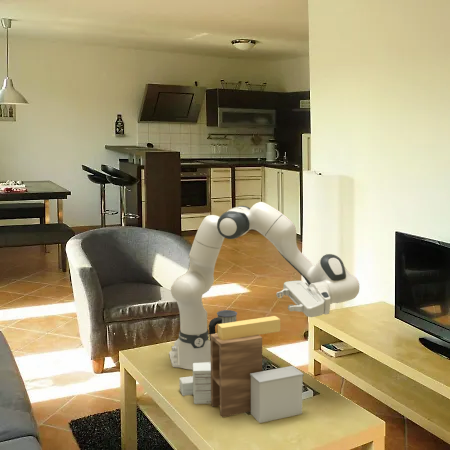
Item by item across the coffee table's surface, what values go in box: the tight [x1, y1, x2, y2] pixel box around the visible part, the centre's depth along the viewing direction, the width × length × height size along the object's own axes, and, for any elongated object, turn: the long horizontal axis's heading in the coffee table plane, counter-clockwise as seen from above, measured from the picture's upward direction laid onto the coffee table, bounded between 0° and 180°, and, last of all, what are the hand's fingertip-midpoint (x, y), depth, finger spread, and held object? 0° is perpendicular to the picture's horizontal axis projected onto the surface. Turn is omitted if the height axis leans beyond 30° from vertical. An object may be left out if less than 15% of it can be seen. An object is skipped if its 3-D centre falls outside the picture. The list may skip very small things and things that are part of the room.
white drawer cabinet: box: [192, 362, 211, 405], centre depth 212 cm, size 7×7×13 cm
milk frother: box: [208, 309, 238, 339], centre depth 260 cm, size 14×16×15 cm
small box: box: [179, 375, 194, 397], centre depth 219 cm, size 6×6×5 cm
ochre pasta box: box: [218, 315, 281, 340], centre depth 204 cm, size 4×22×4 cm, turn 113°
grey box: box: [250, 365, 304, 424], centre depth 201 cm, size 7×16×14 cm, turn 113°
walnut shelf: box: [209, 332, 263, 418], centre depth 205 cm, size 10×15×26 cm, turn 113°
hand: (282, 301), depth 208 cm, fingers open, 8 cm apart
